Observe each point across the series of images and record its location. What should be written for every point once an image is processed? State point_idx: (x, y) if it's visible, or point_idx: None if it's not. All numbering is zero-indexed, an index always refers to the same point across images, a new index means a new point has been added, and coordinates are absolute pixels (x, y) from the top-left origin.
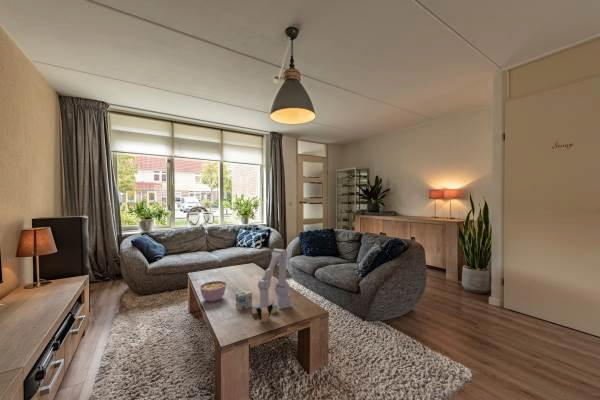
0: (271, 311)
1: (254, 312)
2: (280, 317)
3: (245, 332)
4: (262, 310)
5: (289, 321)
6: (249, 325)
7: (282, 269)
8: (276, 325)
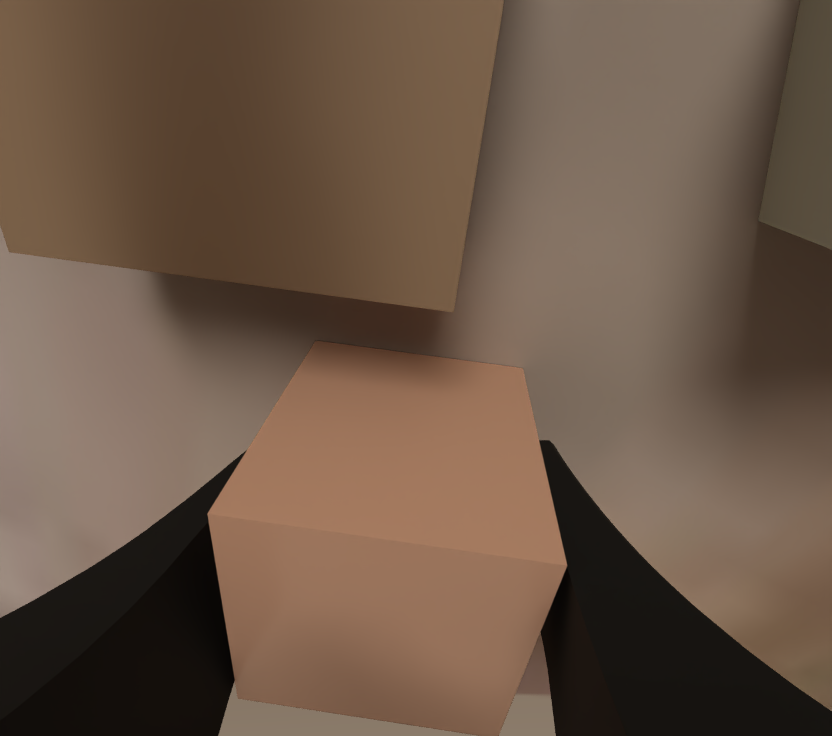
0: (826, 243)
1: (44, 177)
2: (803, 517)
3: (14, 595)
4: (327, 535)
5: (812, 682)
6: (55, 468)
7: None
8: (532, 666)
